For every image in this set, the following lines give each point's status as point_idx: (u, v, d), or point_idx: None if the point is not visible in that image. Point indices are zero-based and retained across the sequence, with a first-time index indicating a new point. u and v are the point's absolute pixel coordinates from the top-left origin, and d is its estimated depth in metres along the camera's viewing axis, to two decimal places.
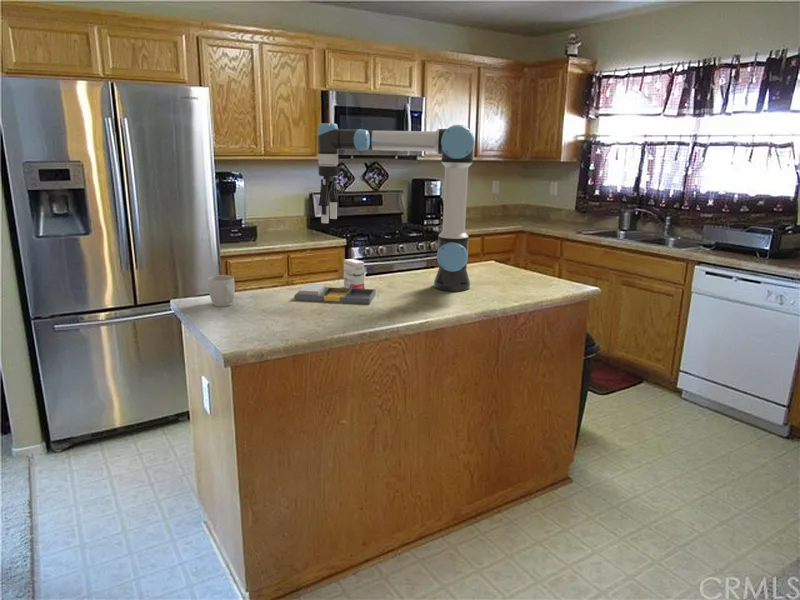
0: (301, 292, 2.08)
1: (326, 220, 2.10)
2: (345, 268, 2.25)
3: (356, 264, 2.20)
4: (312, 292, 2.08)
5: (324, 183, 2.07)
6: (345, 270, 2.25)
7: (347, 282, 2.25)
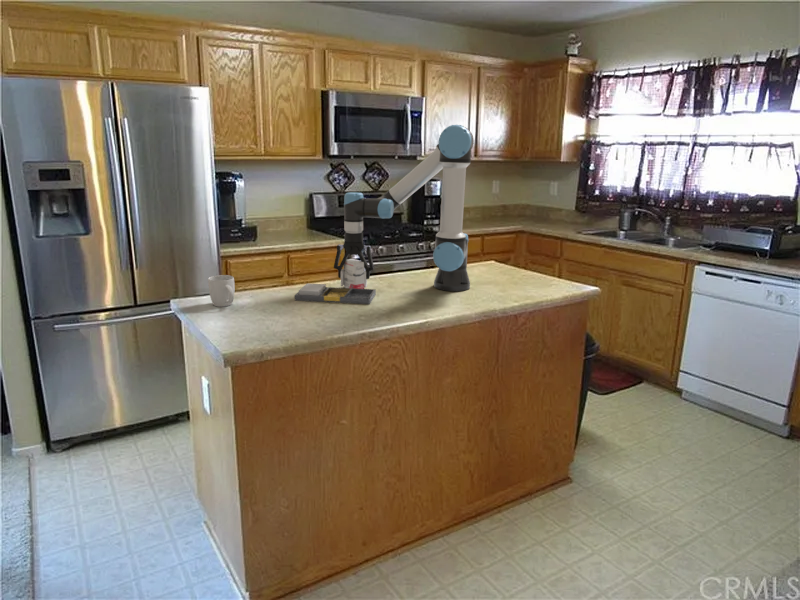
0: (301, 292, 2.08)
1: None
2: (345, 268, 2.25)
3: (356, 264, 2.20)
4: (312, 292, 2.08)
5: None
6: (345, 270, 2.25)
7: (347, 282, 2.25)
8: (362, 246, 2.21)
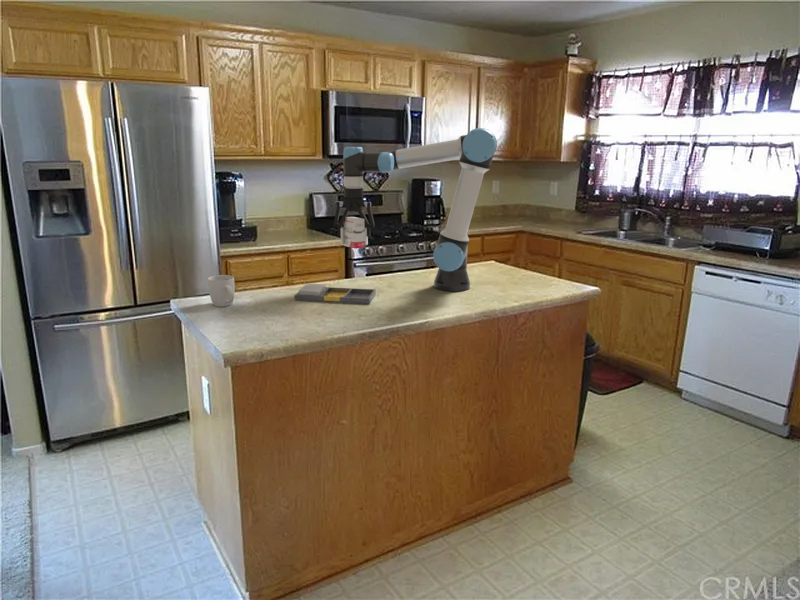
0: (301, 292, 2.08)
1: None
2: (345, 226, 2.20)
3: (356, 220, 2.15)
4: (312, 292, 2.08)
5: None
6: (345, 228, 2.21)
7: (348, 240, 2.21)
8: (362, 202, 2.16)
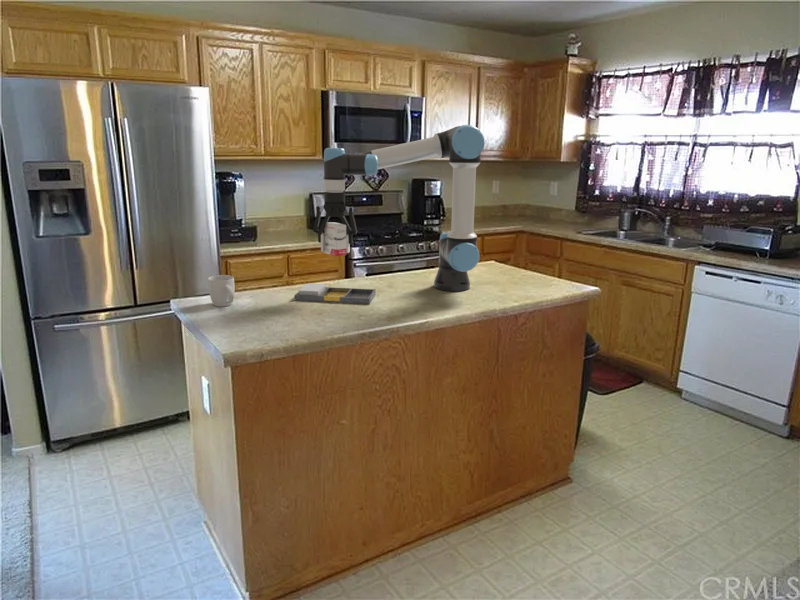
0: (301, 292, 2.08)
1: None
2: (326, 232, 2.07)
3: (337, 226, 2.01)
4: (312, 292, 2.08)
5: None
6: (326, 234, 2.07)
7: (328, 247, 2.07)
8: (344, 207, 2.02)
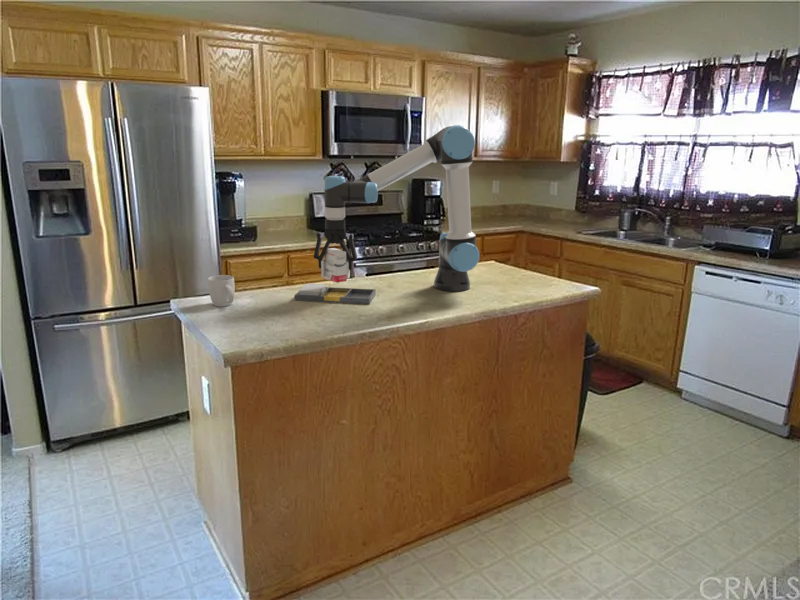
0: (301, 292, 2.08)
1: None
2: (326, 258, 2.09)
3: (337, 253, 2.04)
4: (312, 292, 2.08)
5: None
6: (326, 260, 2.10)
7: (328, 273, 2.10)
8: (344, 234, 2.05)
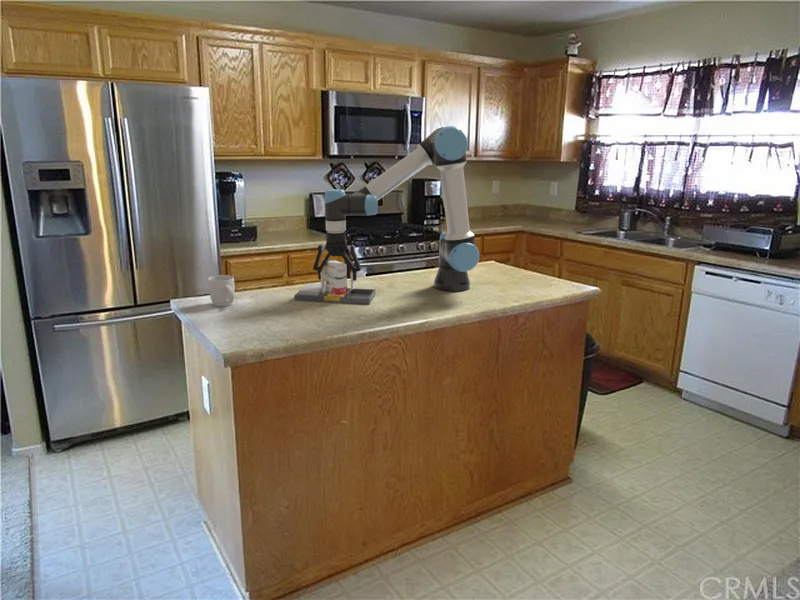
0: (301, 292, 2.08)
1: None
2: (327, 270, 2.11)
3: (338, 266, 2.05)
4: (312, 292, 2.08)
5: None
6: (327, 272, 2.11)
7: (329, 285, 2.11)
8: (345, 247, 2.06)
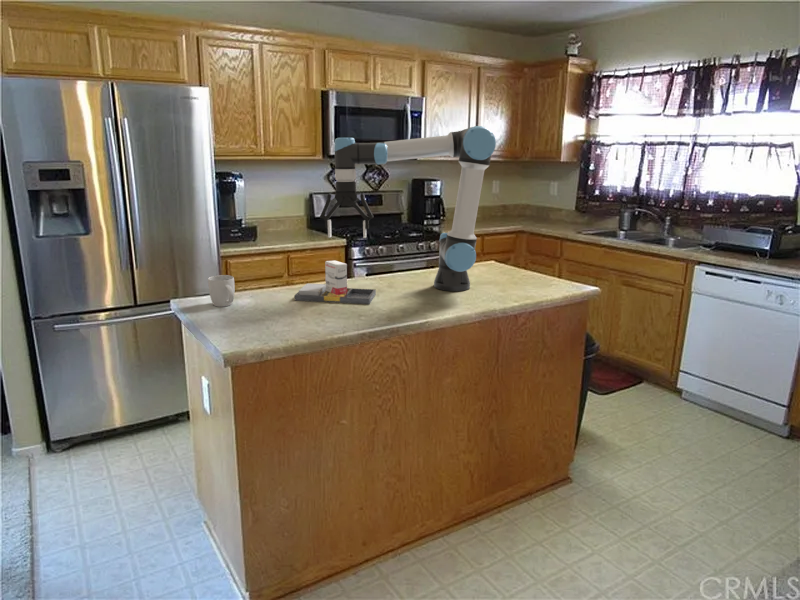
0: (301, 292, 2.08)
1: None
2: (327, 270, 2.11)
3: (338, 266, 2.05)
4: (312, 292, 2.08)
5: None
6: (327, 272, 2.11)
7: (329, 285, 2.11)
8: (355, 196, 2.05)
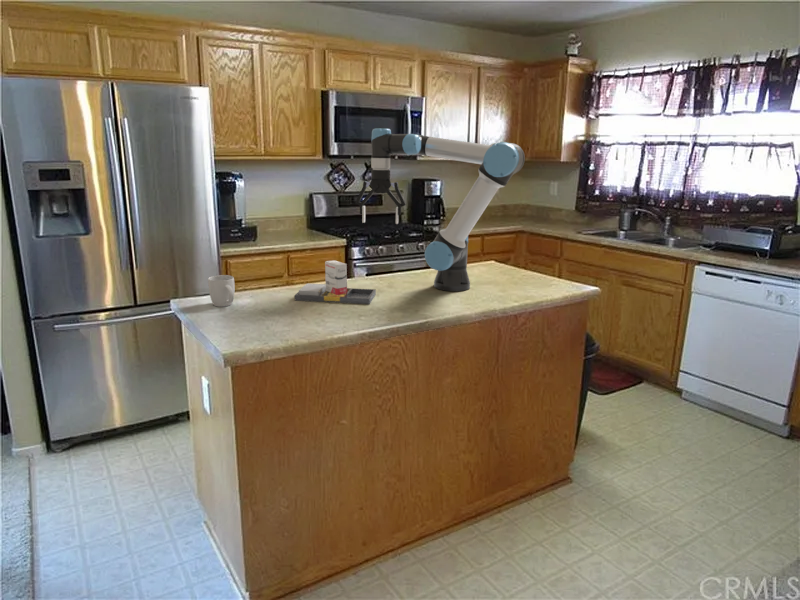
0: (301, 292, 2.08)
1: None
2: (327, 270, 2.11)
3: (338, 266, 2.05)
4: (312, 292, 2.08)
5: None
6: (327, 272, 2.11)
7: (329, 285, 2.11)
8: (389, 183, 2.18)
